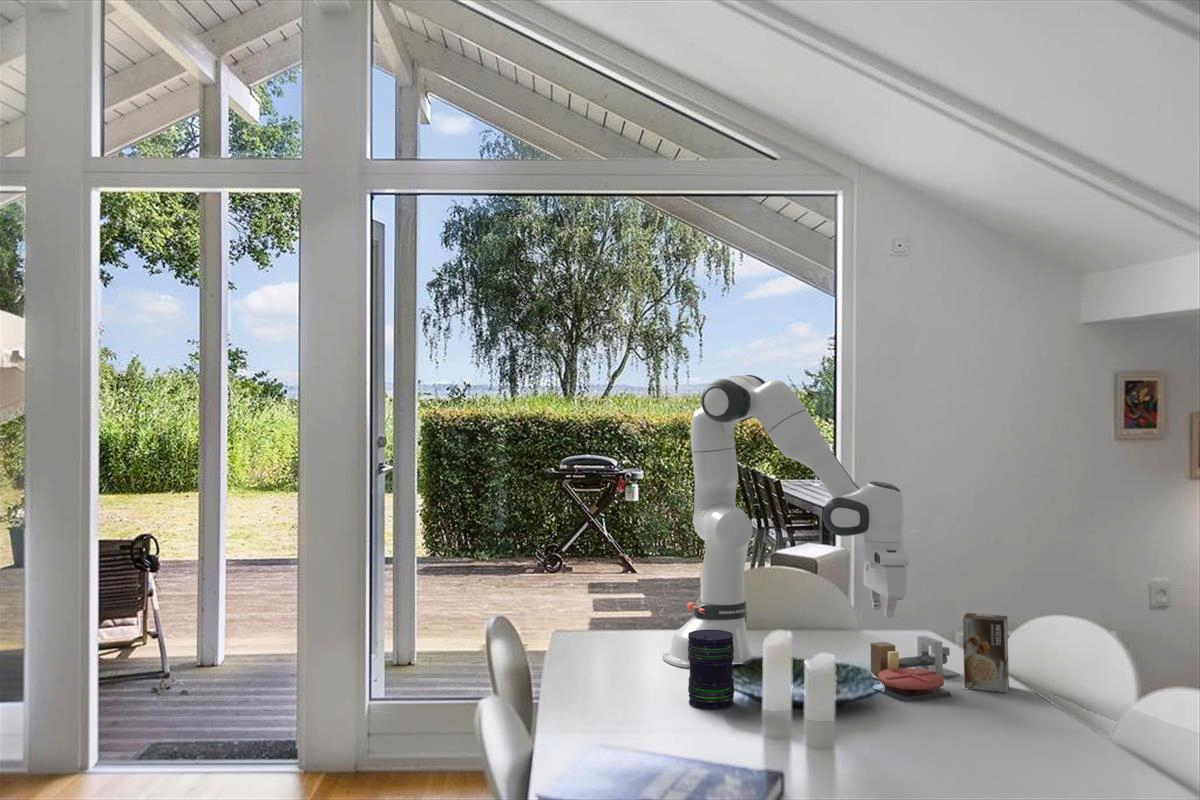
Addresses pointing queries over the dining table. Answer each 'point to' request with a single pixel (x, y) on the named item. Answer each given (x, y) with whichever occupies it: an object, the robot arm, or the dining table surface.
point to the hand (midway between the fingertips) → (882, 612)
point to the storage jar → (711, 669)
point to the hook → (881, 658)
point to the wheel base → (915, 693)
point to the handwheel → (908, 676)
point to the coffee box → (985, 652)
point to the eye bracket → (933, 656)
